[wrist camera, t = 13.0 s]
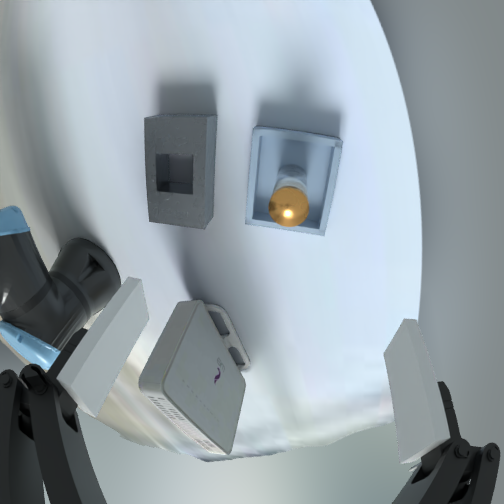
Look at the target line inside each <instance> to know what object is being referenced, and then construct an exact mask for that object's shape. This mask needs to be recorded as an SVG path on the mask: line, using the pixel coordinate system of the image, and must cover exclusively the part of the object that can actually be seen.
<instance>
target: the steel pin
mask: <svg viewBox="0 0 504 504" xmlns="http://www.w3.org/2000/svg"><path fill="white" fill-rule="evenodd" d="M268 209H269V214H270V216H271V218H272V219H273V220H274V221H275V222H276V223H277V224H279V225H281V226H285V227H294V226H297V225H299V224H301V223H302V222H304V221H305V219H306V218H307V216H308V213H309V201H308V191H307V177H306V173H305V171H304V170H303V169H302V168H301V167H299V166H297V165H293V164H290V165H286V166H284V167H283V168H281V169H280V171H279V173H278V176H277V179H276V183H275V186H274V189H273V193H272V196H271V198H270V201H269V205H268Z"/></svg>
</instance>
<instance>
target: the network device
mask: <svg viewBox="0 0 504 504" xmlns="http://www.w3.org/2000/svg"><path fill="white" fill-rule="evenodd" d="M208 311H216V312H218V313H220V314H221V316H222V318H223V320H224V322H225V324H226V326H227V328H228V330H229V332H230V333H229V334H227V335H220V334H219V332H218V330H217V328H216V326H215V324H214V322H213V320H212V318H211V316H210V314H209V313H208ZM230 347H235V348H237V349H238V350H239V352H240V354H241V356H242V358H243V360H244V362H245V364H242V365H236V363H235V362H234V360H233V358H232V356H231V354H230V352H229V351H228V349H229V348H230ZM249 365H250V360H249V358H248V355H247V353H246V351H245V349H244V347H243V345H242V343H241V341H240V339H239V337H238V335H237V333H236V331H235V328H234V326H233V324H232V322H231V320H230V318H229V316H228V314H227V312H226V311H225V310H224V309H223V308H221V307H220V306H217V305H214V304H204V303H203V301H202V300H191V301H181V302H178V304H177V305H176V307H175V309H174V311H173V313H172V315H171V317H170V318H169V320H168V322H167V324H166V326H165V328H164V330H163V332H162V334H161V336H160V338H159V339H158V341H157V343H156V345H155V347H154V349H153V351H152V353H151V355H150V357H149V359H148V361H147V363H146V365H145V367H144V369H143V371H142V373H141V375H140V377H139V383H138V384H139V389H140V391H141V393H142V394H143V395H144V396H145V397H146V398H147V399H148V400H149V401H150V402H151V403H152V404H153V405H154V406H155V407H157V408H158V409H159V410H160V411H161V412H162V413H163V414H164V415H165V416H166V417H167V418H168V419H169V420H170V421H172V422H173V423H174V424H175V425H176V426H177V427H178V428H180V429H181V430H182V431H183V432H184V433H185V434H187V435H188V436H189V437H190V438H191V439H193V440H194V441H195V442H196V443H198V444H199V445H200V446H201V447H203V448H204V449H205V450H206V451H208V452H209V453H216V454H225V455H229V454H230V453H231V451H232V447H233V442H234V438H235V433H236V429H237V424H238V420H239V415H240V411H241V406H242V402H243V397H244V393H245V387H246V384H245V379H244V378H243V376H242V374H241V372H240V371H239V370H244V369H247V368H248V367H249Z"/></svg>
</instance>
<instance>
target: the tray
mask: <svg viewBox="0 0 504 504" xmlns="http://www.w3.org/2000/svg"><path fill="white" fill-rule="evenodd" d="M342 144H343V141H342V140H341V139H340V138H337V137H331V136H326V135H320V134H315V133H308V132H302V131H295V130H288V129H280V128H272V127H263V126H256V127H254V128H253V135H252V147H251V159H250V171H249V183H248V195H247V208H246V220H245V224H248V225H255V226H262V227H268V228H275V229H282V230H288V231H295V232H301V233H308V234H314V235H320V236H324V235H325V231H326V226H327V222H328V217H329V213H330V208H331V203H332V198H333V193H334V188H335V183H336V178H337V173H338V167H339V162H340V156H341V150H342ZM290 164H293V165H297V166H299V167H301V168H302V169H303V170H304V171H305V173H306V177H307V191H308V201H309V213H308V216H307V218H306V219H305V221H304V222H302V223H301V224H299V225H297V226H294V227H285V226H281V225H279V224H277V223H276V222H275V221H274V220H273V219H272V218H271V216H270V214H269V209H268V205H269V201H270V198H271V196H272V193H273V189H274V186H275V183H276V179H277V176H278V173H279V171H280V169H281V168H283V167H284V166H286V165H290Z"/></svg>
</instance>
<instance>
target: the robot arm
mask: <svg viewBox="0 0 504 504" xmlns="http://www.w3.org/2000/svg"><path fill="white" fill-rule="evenodd" d="M103 308H104V309H103ZM102 309H103V311H102V312H101V313H100V315H99V316H98V317H97V319H96V320H95V322H94V323H93V324H92V326H91V327H90V329H89V330H87V329H84V328H83V327H84V325H85V324H86V322H87V321H88V320H89V319H90V317H91V316H93V315H94V314H96V313H98V312H99V311H101V310H102ZM0 316H1V317H2V321H0V332H1V335H2V336H3V337H4V339H5V340H6V341H7V342H8V343H9V344H10V345H11V346H12V347H13V348H14V349H15V350H16V351H17V352H18V353H19V354H21V355H22V356H23V357H24V358H26V359H27V360H28V361H30V362H31V363H33V364H29V365H27V366H25V367H24V368H23V369H22V371H21V372H20V375H19V377H18V376H17V374H16V373H15V372H14V371H13V370H10V369H9V370H5V371H3V372H2V373H1V374H0V504H45V498H44V489H43V481H44V484H45V487H46V491H47V494H48V497H49V501H50V503H51V504H107V503H106V500H105V498H104V496H103V493H102V491H101V488H100V486H99V483H98V481H97V478H96V475H95V473H94V470H93V467H92V464H91V461H90V458H89V455H88V452H87V449H86V445H85V442H84V438H83V435H82V431H81V427H80V423H79V419H78V415H77V412H76V408H77V406H79V407H80V408H81V410H82V411H84V412H86V413H88V414H90V415H92V416H94V417H97V415H98V413H99V411H100V409H101V407H102V405H103V403H104V401H105V399H106V397H107V395H108V393H109V391H110V389H111V388H112V386H113V384H114V382H115V380H116V378H117V376H118V374H119V372H120V370H121V369H122V367H123V365H124V363H125V361H126V359H127V357H128V356H129V354H130V352H131V350H132V348H133V347H134V345H135V343H136V341H137V339H138V338H139V336H140V334H141V332H142V331H143V329H144V327H145V325H146V324H147V322H148V320H149V314H148V310H147V305H146V300H145V296H144V291H143V286H142V280H141V279H137V278H132V277H128V278H127V279H126V281H125V282H124V283H123V284H122V286H121V282H120V277H119V274H118V272H117V270H116V268H115V266H114V264H113V262H112V261H111V260H110V258H109V257H108V256H107V255H106V253H105V252H104V251H103V250H102V249H100V248H99V247H98V246H97V245H95V244H94V243H92V242H90V241H88V240H85V239H81V238H76V239H72V240H71V241H69V242H68V243H67V244H66V245H65V246H63V247H62V249H61V250H60V252H59V254H58V257H57V259H56V260H55V262H54V264H53V266H52V268H51V270H50V271H49V272H48V270H47V268H46V266H45V264H44V262H43V260H42V258H41V256H40V254H39V251H38V249H37V247H36V245H35V242H34V240H33V237H32V235H31V232H30V227H28V225H27V223H26V221H25V218H24V216H23V214H22V211H21V210H20V209H19V208H18V207H17V206H8V207H5V208H3V209H0ZM384 359H385V364H386V369H387V374H388V379H389V385H390V390H391V396H392V403H393V409H394V416H395V423H396V431H397V441H398V451H399V463H400V464H402V463H409V462H414V461H416V460H417V459H419V458H421V462H420V463H419V464H417V465H415V466H413V467H412V468H411V469H410V470H409V471H412V470H414V469H415V471H414V472H413V474H412V476H411V477H410V479H409V480H408V482H407V483H406V485H405V486H404V488H403V489H402V490H401V492H400V493H399V494H398V496H397V497H396V499H395V500H394V502H393V503H392V504H491V500H492V496H493V492H494V488H495V483H496V478H497V473H498V467H499V461H500V450H499V447H498V446H497V445H496V444H495V443H489V444H487V445H486V446H484V447H474V446H470V444H469V443H468V442H467V441H466V440H465V439H462V438H461V436H460V432H459V427H458V423H457V419H456V414H455V410H454V409H453V403H452V401H451V400H452V399H451V395H450V392H449V389H448V388H447V386H446V385H445V383H444V382H443V381H442V382H437V380H436V376H435V373H434V369H433V367H432V363H431V360H430V357H429V354H428V351H427V348H426V345H425V342H424V339H423V336H422V334H421V331H420V328H419V325H418V323H417V320H415V319H404V320H403V322H402V323H401V325H400V327H399V329H398V330H397V332H396V334H395V335H394V337H393V339H392V341H391V342H390V344H389V345H388V347H387V349H386V350H385V352H384ZM43 369H46V370H48V372H47V373H45V371H44V370H43ZM470 479H471V481H470ZM469 481H470V485H469Z"/></svg>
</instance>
